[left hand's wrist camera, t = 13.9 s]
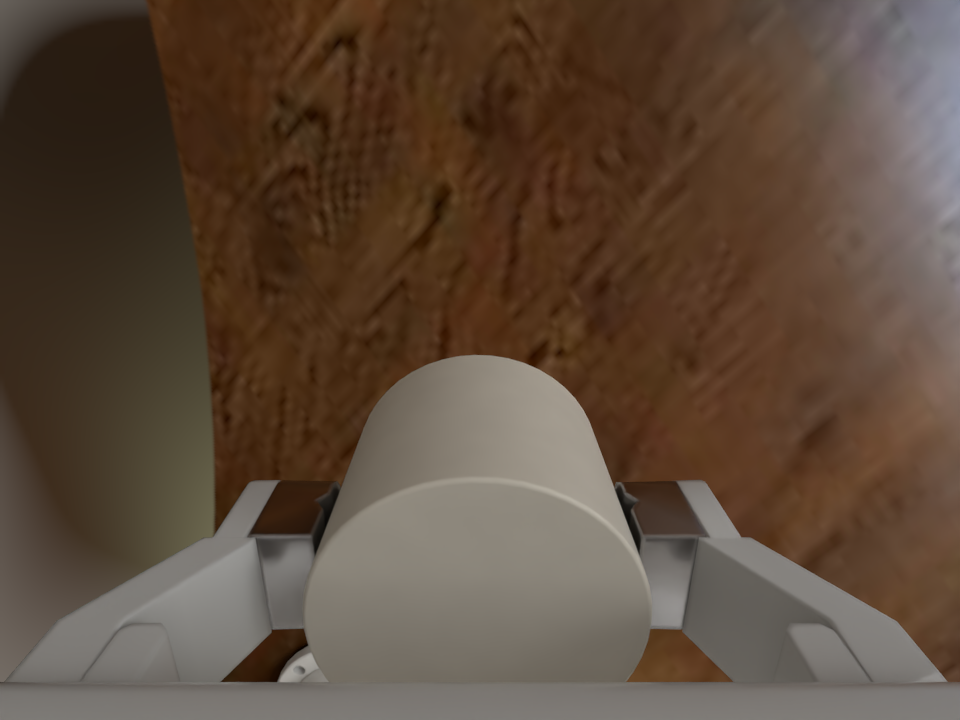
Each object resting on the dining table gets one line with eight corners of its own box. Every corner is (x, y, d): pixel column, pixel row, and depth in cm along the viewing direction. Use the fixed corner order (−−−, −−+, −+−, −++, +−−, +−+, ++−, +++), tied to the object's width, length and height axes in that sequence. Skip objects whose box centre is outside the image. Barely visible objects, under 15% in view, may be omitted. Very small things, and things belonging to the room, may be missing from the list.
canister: (566, 324, 11) (615, 436, 7) (617, 529, 13) (679, 711, 9) (323, 391, 11) (241, 530, 7) (404, 578, 13) (373, 772, 9)
